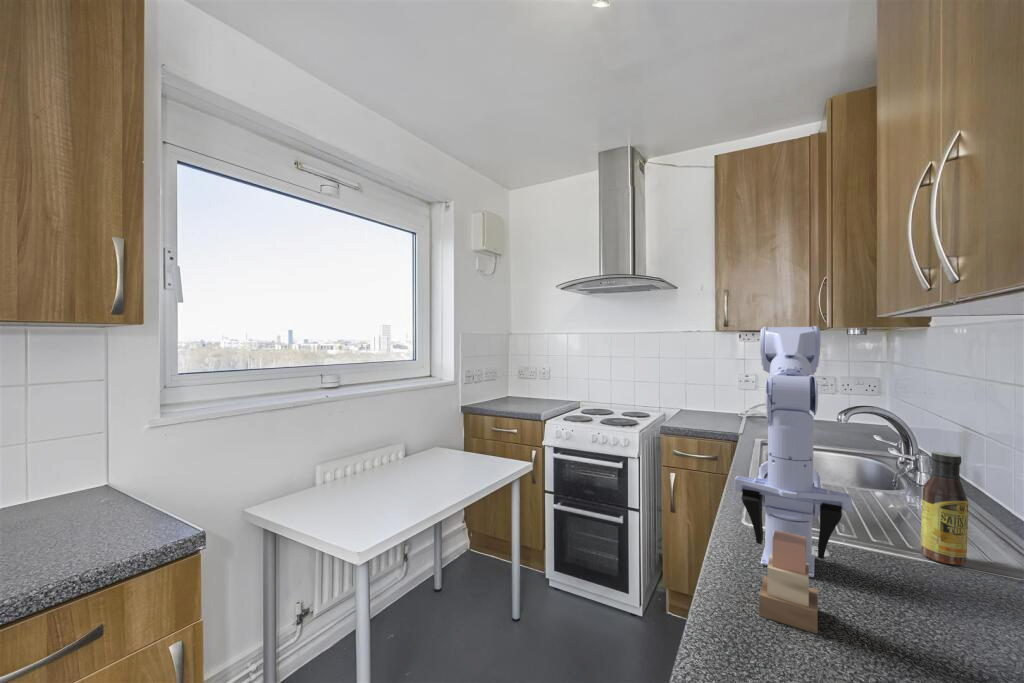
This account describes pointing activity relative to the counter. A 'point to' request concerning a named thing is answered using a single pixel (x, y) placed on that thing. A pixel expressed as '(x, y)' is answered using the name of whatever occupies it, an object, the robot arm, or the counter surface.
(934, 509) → the sauce bottle
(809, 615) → the walnut base
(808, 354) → the robot arm
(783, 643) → the counter surface
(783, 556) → the terracotta block
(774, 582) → the maple block
